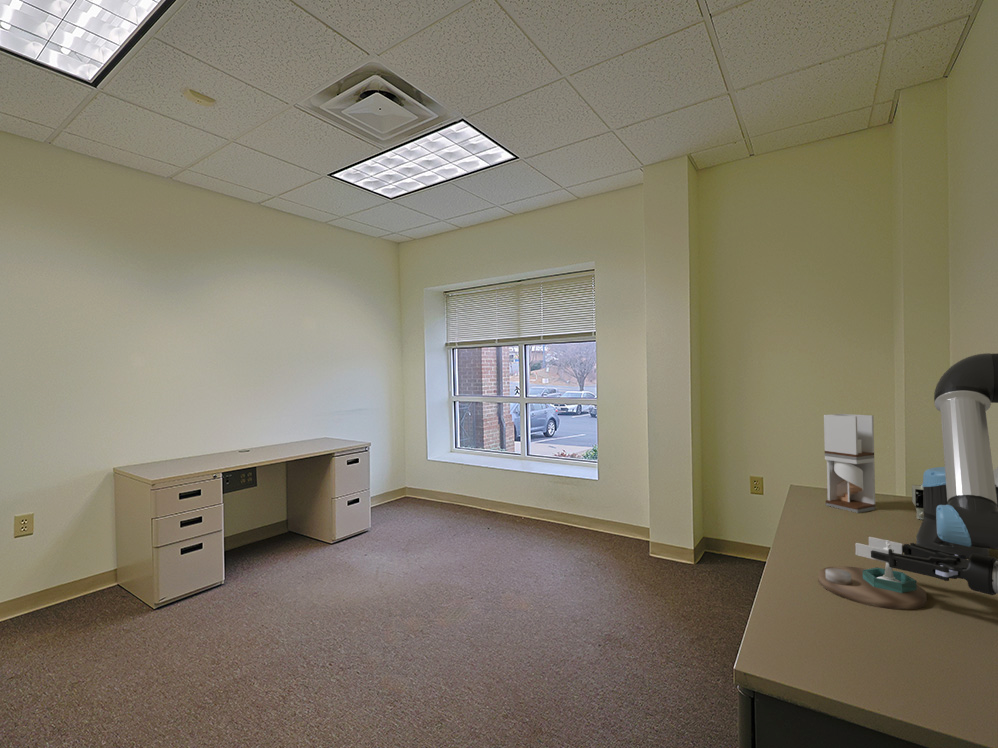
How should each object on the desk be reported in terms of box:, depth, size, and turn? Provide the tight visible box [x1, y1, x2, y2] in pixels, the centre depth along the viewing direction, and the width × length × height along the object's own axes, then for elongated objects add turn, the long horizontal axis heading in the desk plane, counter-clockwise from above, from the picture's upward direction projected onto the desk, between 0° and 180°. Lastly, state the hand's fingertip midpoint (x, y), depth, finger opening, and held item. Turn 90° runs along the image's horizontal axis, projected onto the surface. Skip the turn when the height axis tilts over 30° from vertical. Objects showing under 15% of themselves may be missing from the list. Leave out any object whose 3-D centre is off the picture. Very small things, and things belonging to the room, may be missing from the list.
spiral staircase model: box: [823, 413, 876, 514], centre depth 184 cm, size 11×11×35 cm
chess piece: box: [877, 539, 901, 583], centre depth 112 cm, size 5×5×10 cm
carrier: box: [817, 565, 928, 611], centre depth 113 cm, size 20×20×4 cm
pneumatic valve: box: [911, 483, 924, 521], centre depth 168 cm, size 6×12×12 cm, turn 145°
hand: (863, 545), depth 117 cm, fingers open, 7 cm apart
